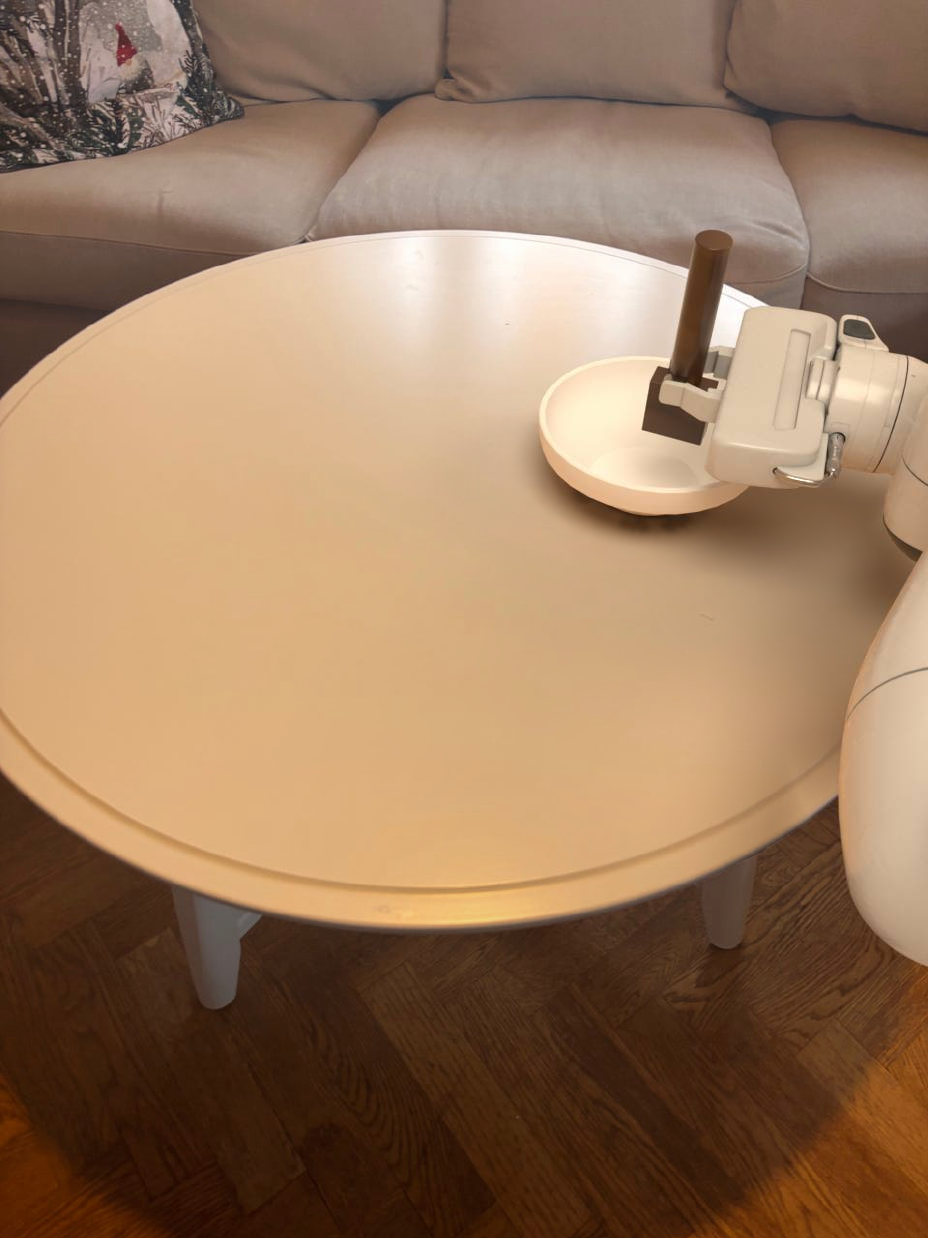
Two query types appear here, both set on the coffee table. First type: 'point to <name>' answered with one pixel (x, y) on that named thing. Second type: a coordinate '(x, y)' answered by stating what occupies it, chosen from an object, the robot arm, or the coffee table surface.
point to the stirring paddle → (692, 338)
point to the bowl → (625, 442)
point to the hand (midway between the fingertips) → (665, 373)
